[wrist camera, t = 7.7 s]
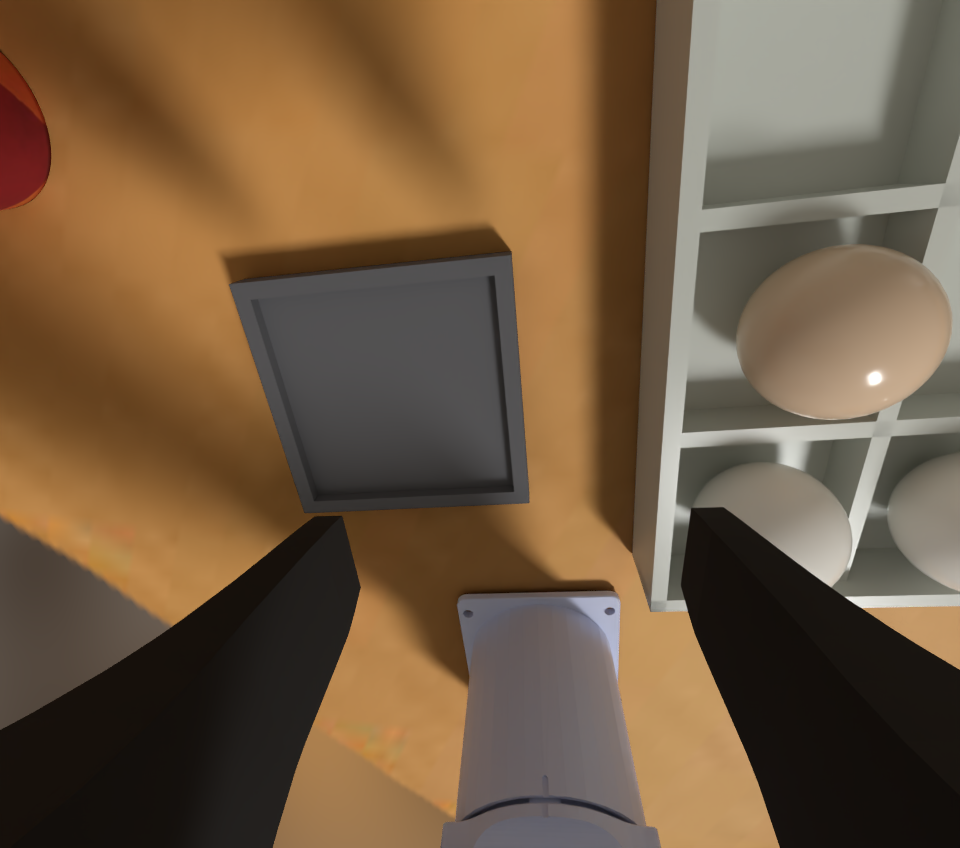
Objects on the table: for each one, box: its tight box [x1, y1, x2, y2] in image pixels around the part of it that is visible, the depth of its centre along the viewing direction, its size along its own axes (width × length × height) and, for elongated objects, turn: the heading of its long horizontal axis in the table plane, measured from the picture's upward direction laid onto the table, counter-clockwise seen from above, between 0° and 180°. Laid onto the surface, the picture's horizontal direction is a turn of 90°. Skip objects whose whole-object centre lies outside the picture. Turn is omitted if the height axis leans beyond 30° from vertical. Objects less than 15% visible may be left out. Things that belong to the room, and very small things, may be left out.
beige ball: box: [736, 244, 953, 420], centre depth 14 cm, size 5×5×5 cm
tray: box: [632, 0, 960, 612], centre depth 15 cm, size 22×15×3 cm
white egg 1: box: [692, 462, 853, 587], centre depth 17 cm, size 5×5×5 cm
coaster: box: [229, 251, 529, 513], centre depth 19 cm, size 10×10×1 cm
